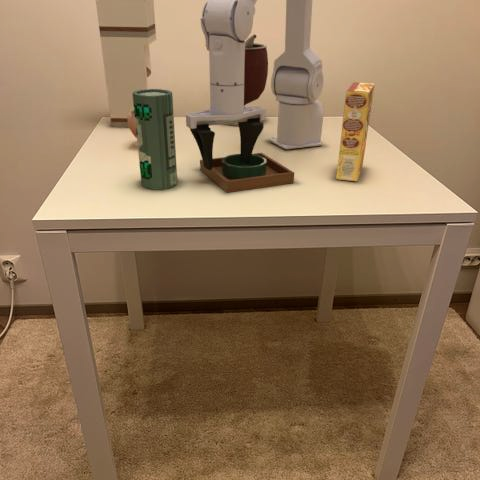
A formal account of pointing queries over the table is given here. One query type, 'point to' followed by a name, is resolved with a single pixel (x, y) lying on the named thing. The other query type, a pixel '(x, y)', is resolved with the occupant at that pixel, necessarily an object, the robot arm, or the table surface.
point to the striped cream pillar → (125, 51)
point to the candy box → (354, 130)
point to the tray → (273, 177)
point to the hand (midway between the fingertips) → (226, 165)
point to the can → (155, 138)
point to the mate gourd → (254, 71)
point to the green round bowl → (243, 167)
